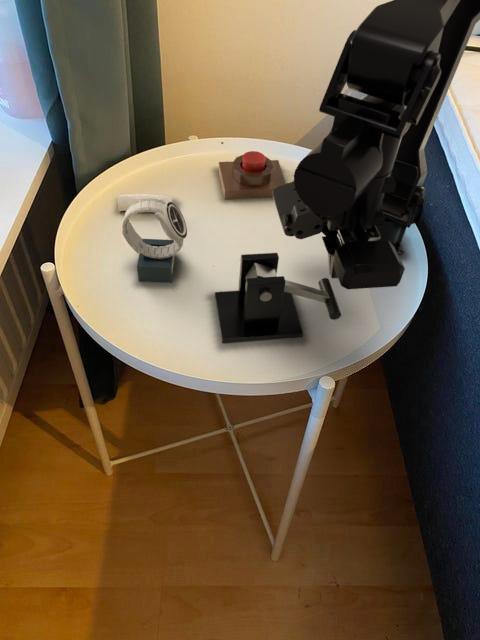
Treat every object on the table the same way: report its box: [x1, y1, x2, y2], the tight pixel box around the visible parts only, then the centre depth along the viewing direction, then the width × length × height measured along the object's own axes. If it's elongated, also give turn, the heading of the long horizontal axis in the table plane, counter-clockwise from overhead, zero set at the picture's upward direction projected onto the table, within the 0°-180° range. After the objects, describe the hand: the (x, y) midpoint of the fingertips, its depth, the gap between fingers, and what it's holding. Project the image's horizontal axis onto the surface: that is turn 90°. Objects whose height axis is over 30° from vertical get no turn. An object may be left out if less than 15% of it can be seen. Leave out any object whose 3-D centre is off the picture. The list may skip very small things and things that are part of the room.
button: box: [242, 150, 266, 173], centre depth 86 cm, size 4×4×2 cm
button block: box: [218, 154, 287, 200], centre depth 88 cm, size 10×8×4 cm
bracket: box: [214, 252, 304, 344], centre depth 67 cm, size 10×8×9 cm
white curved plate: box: [117, 193, 173, 213], centre depth 83 cm, size 4×8×3 cm, turn 90°
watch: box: [121, 198, 188, 284], centre depth 71 cm, size 6×8×11 cm
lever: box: [245, 263, 342, 321], centre depth 67 cm, size 12×6×2 cm, turn 98°
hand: (334, 276), depth 66 cm, fingers closed
